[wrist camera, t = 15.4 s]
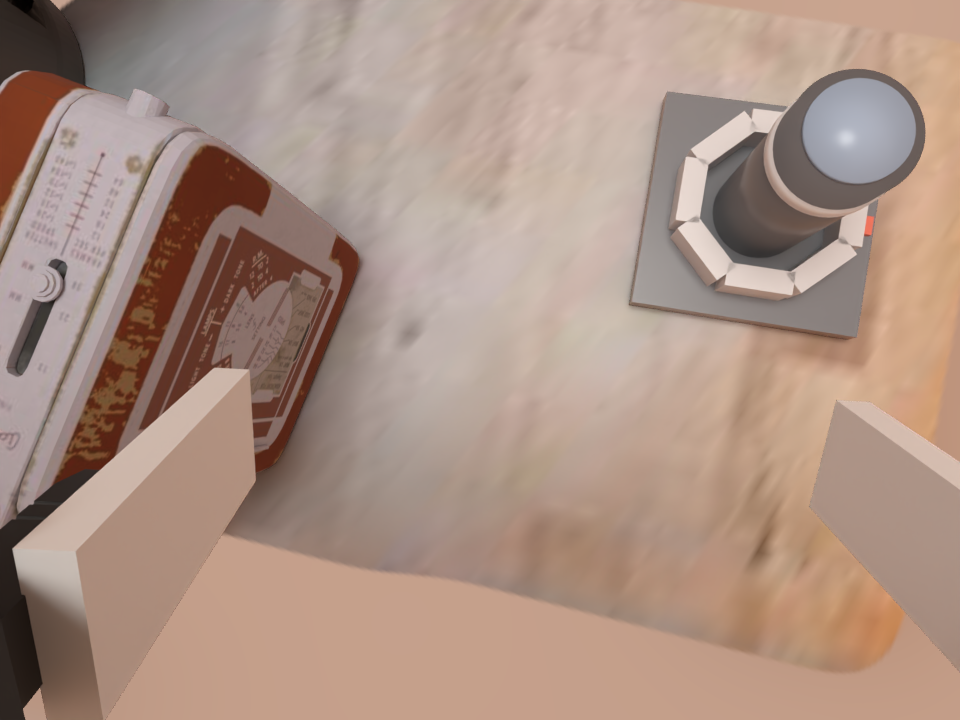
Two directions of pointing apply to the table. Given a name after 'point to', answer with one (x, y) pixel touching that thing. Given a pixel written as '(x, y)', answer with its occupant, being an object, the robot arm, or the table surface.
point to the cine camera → (143, 280)
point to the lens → (821, 162)
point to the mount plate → (709, 261)
